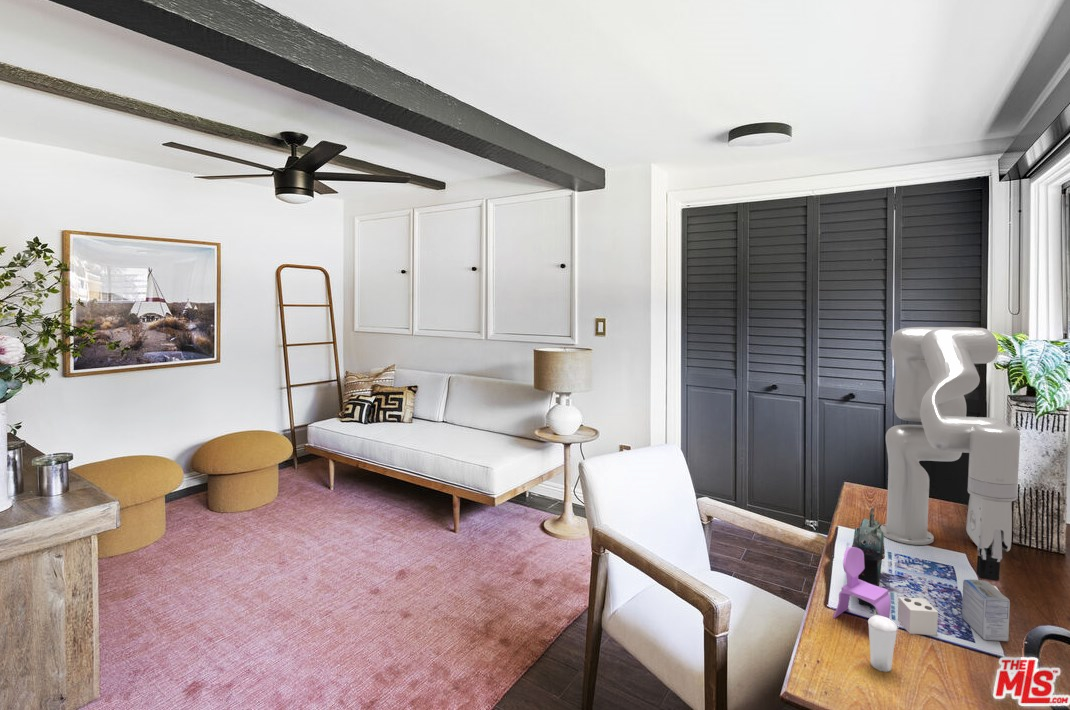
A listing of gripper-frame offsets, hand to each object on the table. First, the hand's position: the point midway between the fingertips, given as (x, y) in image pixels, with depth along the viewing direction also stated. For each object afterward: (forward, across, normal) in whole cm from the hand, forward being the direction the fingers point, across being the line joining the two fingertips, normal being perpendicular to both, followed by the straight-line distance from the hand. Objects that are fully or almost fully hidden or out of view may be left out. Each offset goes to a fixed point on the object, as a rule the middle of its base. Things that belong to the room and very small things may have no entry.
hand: (987, 577), depth 111 cm
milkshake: (+12, +21, -20) cm, 31 cm away
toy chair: (+11, +6, -22) cm, 25 cm away
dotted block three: (+11, +4, -12) cm, 17 cm away
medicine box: (+11, 0, 0) cm, 11 cm away
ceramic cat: (+11, -10, -20) cm, 25 cm away
